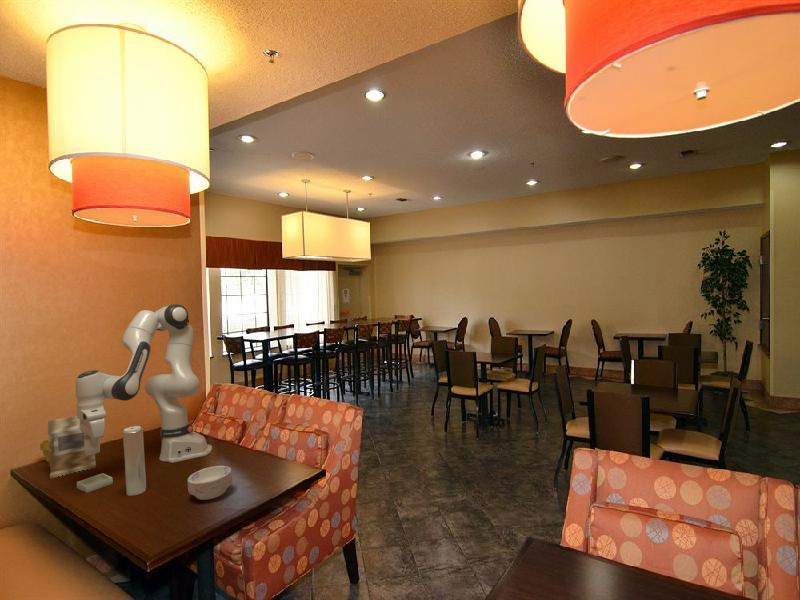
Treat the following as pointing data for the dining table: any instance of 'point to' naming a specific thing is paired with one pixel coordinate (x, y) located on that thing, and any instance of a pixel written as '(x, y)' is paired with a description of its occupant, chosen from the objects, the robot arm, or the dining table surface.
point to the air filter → (134, 460)
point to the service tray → (94, 483)
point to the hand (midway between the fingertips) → (92, 445)
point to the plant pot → (45, 449)
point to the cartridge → (90, 446)
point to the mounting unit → (67, 447)
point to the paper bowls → (210, 482)
